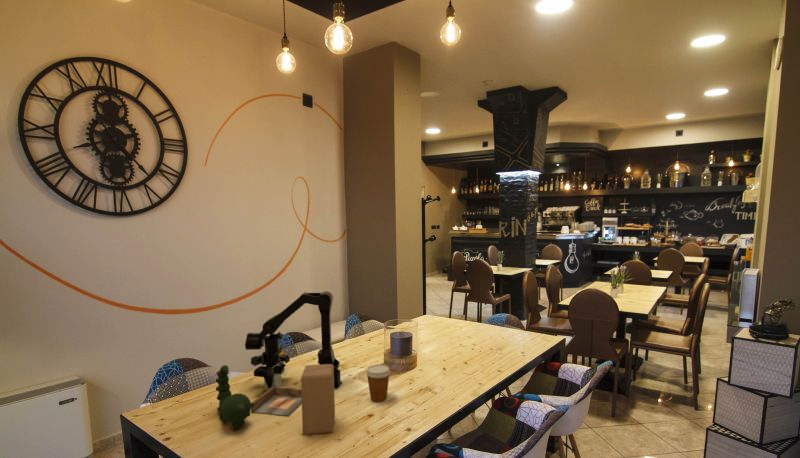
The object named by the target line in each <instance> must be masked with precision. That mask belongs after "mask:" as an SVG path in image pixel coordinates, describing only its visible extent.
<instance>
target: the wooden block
mask: <svg viewBox="0 0 800 458" xmlns="http://www.w3.org/2000/svg"><path fill="white" fill-rule="evenodd" d="M300 384H301V385H300V388H301V392H302V404H301V419H302V420H301V421H302V424H301V425H302V426H301V427H302V433H303V434H304V435H309V434H310V435H314V434H327V433H328V434H329V433H332V432H333V431H334V426H335V420H336V419H335V418H336V412H335V411H336V406H335V389H334V366H333V365H332V364H323V365H319V364H309V365H305V366H304V370H303V371H302V374H301V376H300Z"/></svg>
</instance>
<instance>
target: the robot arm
mask: <svg viewBox="0 0 800 458" xmlns="http://www.w3.org/2000/svg"><path fill="white" fill-rule="evenodd" d="M333 300H334V296H333V294H332V293H331V292H329V291H323V292H303V293H302V294H301V295H300V296H299V297H298V298H297V299H295V300H294V301H293V302H292V303H290V304H289V305H288V306H287V307H285V308H284V309H283V310H282V311H280V312H279V313H277V314H275V315H273V316H271V317H270V318H268V319H267V320H266V321H265V322H264V323H263V324H262V329H261V331H259V332H254V333H253V332H248V333H247V334H246V338H245V343H244V348H245V350H247V351H250V350H251V351H253V350H254V351H255V350H261V349H262V348H263V347H264V351H263V352H262V353H261V354H260V355H255V356H252V357H251V358H250V364H251V365H252V366H254V367H256V366H258V367H257V368H255V369H254V370H253V377H257V378H258V377H259V378H263V380H264V379H265V381H266V384H267V386H268V388H271V386H272V382H273V378H274V374H281V375H282V371H283V369H284V370H285V367H286V365H287V363H289V362H290V361H291V360H290V358H291V357H290V356H289V355H288V354H284V355H283V354H279V353H280V352H281V350H279V345H280V340H281V339H282V338H283V337H284V334H283V333H281V331H278V330H279V328H280V327H281V326H282V325H283V323H284V322H285V321H286V320H287V319H289V318H290V317H291V315H293V314H294V313H296V312H297V311H298V310H299V309H300V308H302V307H303V306H304V305H305V304H309V305H313V306H317V308H318V311H319V314H320V324H321V325H320V326H321V329H320V330H321V348H320V349H319V350H318V352H317V358H318V360H317V364H318V365H323V364H332V365H333V366H334V390H336V389H339V387H340V386H341V385H342V384H343V381H341V379H342V378H341V369H339V367H340V365H341V363H340V361H339V360H338V359H336V356H335V352H334V349H333V346H332V325H331V324H332V323H331V322H332V321H331V316H332V315H331V311H332V308H333V307H332V306H333ZM276 331H278V332H277V333H276ZM282 361H284V364H283V362H282ZM259 365H260V366H259ZM272 369H273V370H274V372H272Z"/></svg>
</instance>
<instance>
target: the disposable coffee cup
mask: <svg viewBox="0 0 800 458" xmlns="http://www.w3.org/2000/svg"><path fill="white" fill-rule="evenodd" d="M390 373H391V370H390V367H389V366H388V365H386V364H374V365H370V366H368V367H367V368H366V371H365V374H366V376H367V382H368V390H369V396H370V401H371V402H373V403H382V402H386V401H387V399H388V389H389V388H388V387H389V377H390Z"/></svg>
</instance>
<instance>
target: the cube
mask: <svg viewBox="0 0 800 458" xmlns="http://www.w3.org/2000/svg"><path fill="white" fill-rule="evenodd" d="M263 381H264V382H263V383H264V385H263V386H264V387H263V388H264V391H265V390H266V391H267V390H269V389H270V388H268V386H267V384H266V381H265V379H264V378H263ZM273 386H280V387H283V385H282V374H274V378H273V382H272V386H271V387H273Z"/></svg>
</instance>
